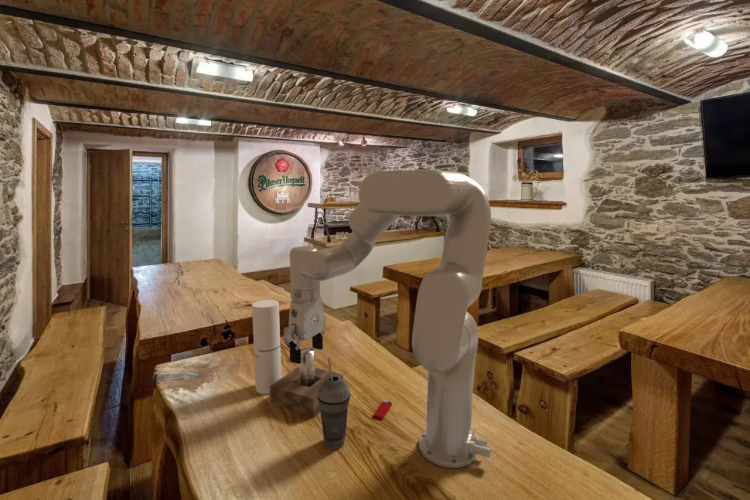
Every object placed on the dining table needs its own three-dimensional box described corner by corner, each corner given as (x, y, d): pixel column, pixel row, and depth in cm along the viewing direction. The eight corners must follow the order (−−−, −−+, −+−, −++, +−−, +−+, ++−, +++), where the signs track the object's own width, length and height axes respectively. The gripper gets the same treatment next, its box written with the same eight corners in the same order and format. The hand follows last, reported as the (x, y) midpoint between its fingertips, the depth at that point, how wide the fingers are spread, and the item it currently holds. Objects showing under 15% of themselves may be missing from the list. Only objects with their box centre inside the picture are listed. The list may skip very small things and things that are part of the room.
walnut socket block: (343, 391, 107) (342, 374, 106) (313, 417, 95) (313, 398, 94) (303, 379, 113) (302, 364, 112) (270, 403, 101) (269, 385, 100)
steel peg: (318, 390, 105) (317, 349, 103) (309, 397, 101) (308, 354, 99) (306, 386, 106) (305, 346, 104) (297, 393, 103) (296, 351, 101)
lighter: (372, 414, 95) (383, 398, 102) (372, 419, 95) (383, 402, 102) (382, 417, 94) (393, 400, 101) (382, 421, 94) (393, 405, 101)
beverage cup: (337, 458, 80) (336, 370, 77) (311, 446, 84) (309, 361, 81) (357, 439, 86) (356, 357, 83) (331, 428, 90) (330, 349, 87)
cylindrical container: (274, 395, 105) (271, 308, 101) (251, 392, 106) (246, 306, 102) (285, 382, 112) (283, 300, 108) (263, 380, 113) (259, 299, 109)
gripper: (296, 304, 90) (298, 371, 93) (335, 287, 105) (336, 346, 108) (271, 300, 93) (274, 365, 96) (313, 284, 109) (314, 341, 111)
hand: (307, 355), depth 102 cm, fingers open, 9 cm apart
